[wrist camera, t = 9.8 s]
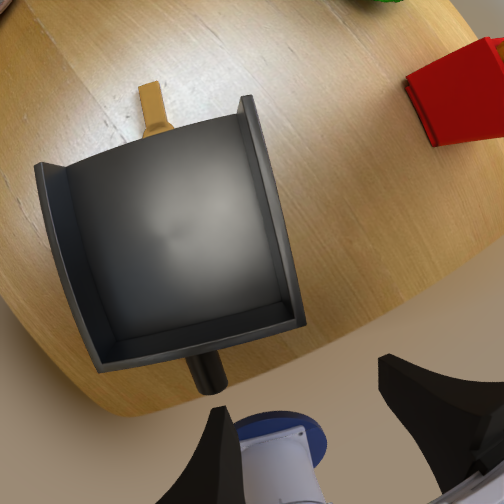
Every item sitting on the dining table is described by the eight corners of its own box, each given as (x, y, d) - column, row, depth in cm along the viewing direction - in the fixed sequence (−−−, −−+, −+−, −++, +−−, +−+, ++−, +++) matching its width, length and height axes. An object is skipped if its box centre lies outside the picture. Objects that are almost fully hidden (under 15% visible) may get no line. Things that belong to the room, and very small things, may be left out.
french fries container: (395, 74, 19) (522, 8, 6) (454, 57, 20) (558, 15, 6) (432, 151, 21) (576, 137, 7) (484, 122, 21) (596, 107, 7)
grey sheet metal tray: (300, 345, 16) (316, 372, 13) (132, 385, 16) (120, 415, 13) (245, 113, 14) (252, 93, 11) (62, 170, 13) (33, 165, 10)
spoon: (180, 149, 19) (179, 147, 18) (148, 158, 19) (146, 157, 18) (164, 81, 18) (163, 78, 17) (134, 91, 18) (132, 88, 17)
